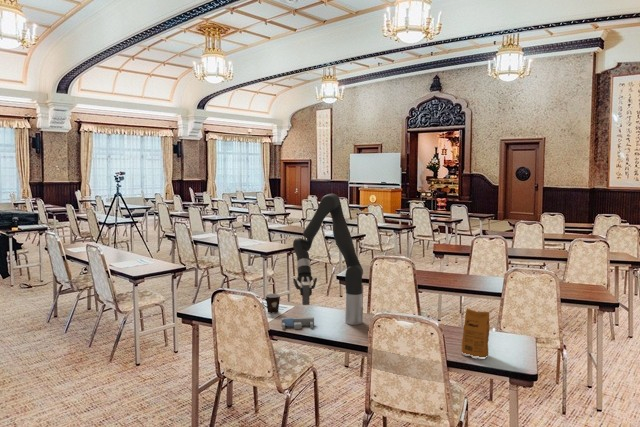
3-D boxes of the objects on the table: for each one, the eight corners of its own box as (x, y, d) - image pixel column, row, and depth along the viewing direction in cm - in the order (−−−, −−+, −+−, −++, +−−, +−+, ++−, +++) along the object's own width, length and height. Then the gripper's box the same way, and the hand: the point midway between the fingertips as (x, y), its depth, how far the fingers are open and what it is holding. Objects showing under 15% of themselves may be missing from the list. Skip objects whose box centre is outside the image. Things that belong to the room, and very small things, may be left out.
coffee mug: (281, 309, 299) (281, 294, 298) (278, 314, 291) (278, 297, 290) (262, 309, 300) (262, 293, 299) (259, 313, 292) (259, 296, 291)
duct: (313, 324, 273) (313, 316, 272) (315, 328, 266) (315, 320, 265) (281, 325, 270) (281, 317, 270) (282, 329, 263) (282, 321, 263)
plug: (308, 303, 267) (308, 281, 266) (309, 304, 264) (309, 283, 263) (302, 303, 267) (302, 281, 266) (302, 305, 263) (302, 283, 262)
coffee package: (465, 349, 237) (466, 305, 235) (491, 355, 230) (493, 309, 228) (458, 355, 229) (459, 310, 227) (484, 361, 222) (486, 315, 220)
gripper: (291, 265, 270) (293, 292, 259) (317, 264, 272) (320, 291, 261) (291, 272, 276) (292, 299, 265) (315, 271, 277) (318, 298, 267)
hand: (306, 295), depth 263 cm, fingers closed on plug, 3 cm apart
